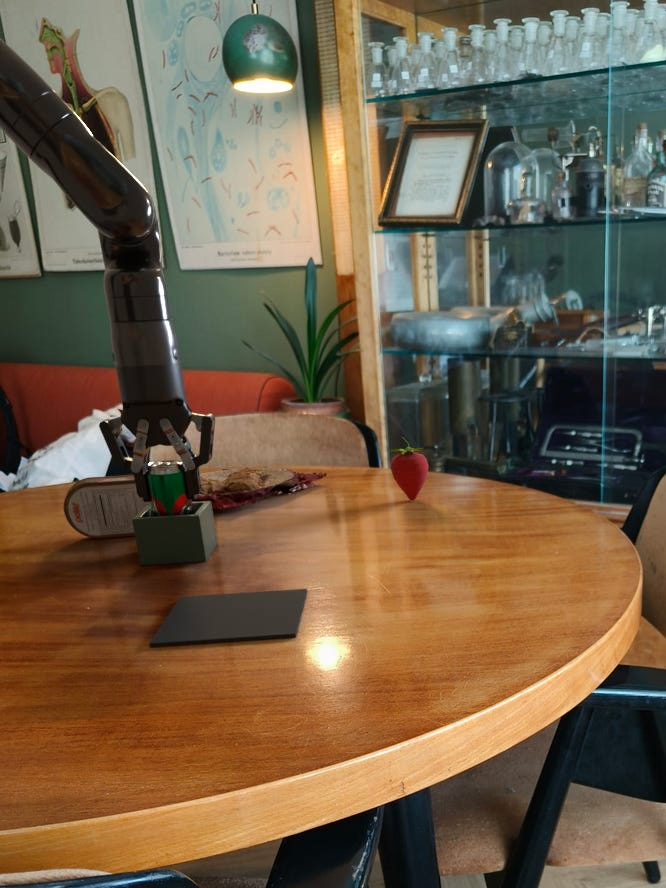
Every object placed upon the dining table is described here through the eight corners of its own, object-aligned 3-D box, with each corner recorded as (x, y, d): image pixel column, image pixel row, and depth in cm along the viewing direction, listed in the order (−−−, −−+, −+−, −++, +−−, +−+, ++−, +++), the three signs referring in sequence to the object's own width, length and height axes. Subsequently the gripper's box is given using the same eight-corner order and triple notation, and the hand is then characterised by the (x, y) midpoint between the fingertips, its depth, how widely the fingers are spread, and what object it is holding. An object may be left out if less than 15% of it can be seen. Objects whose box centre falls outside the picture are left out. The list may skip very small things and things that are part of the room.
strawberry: (396, 507, 136) (391, 442, 132) (390, 497, 143) (385, 434, 139) (434, 504, 137) (430, 439, 134) (426, 494, 144) (422, 432, 140)
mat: (149, 647, 85) (148, 643, 85) (180, 600, 98) (179, 596, 98) (295, 637, 86) (295, 633, 86) (307, 591, 99) (307, 588, 99)
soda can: (202, 547, 118) (188, 458, 114) (197, 558, 114) (183, 465, 109) (163, 550, 117) (147, 460, 113) (157, 561, 113) (140, 467, 108)
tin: (182, 528, 129) (173, 470, 125) (180, 533, 126) (170, 474, 123) (73, 537, 126) (60, 478, 123) (68, 543, 123) (55, 483, 120)
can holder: (140, 565, 111) (131, 519, 109) (155, 547, 119) (148, 504, 117) (206, 561, 112) (199, 515, 110) (217, 544, 120) (211, 500, 117)
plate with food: (329, 484, 155) (327, 464, 154) (230, 513, 134) (227, 491, 133) (225, 477, 166) (223, 459, 164) (117, 504, 144) (114, 483, 143)
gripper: (213, 355, 110) (232, 490, 117) (96, 360, 109) (121, 496, 116) (202, 360, 104) (223, 503, 110) (76, 365, 102) (104, 509, 109)
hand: (170, 498), depth 113 cm, fingers closed on soda can, 5 cm apart
